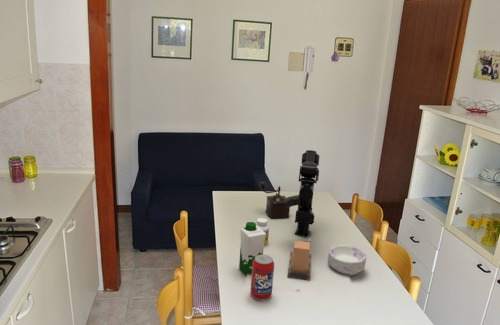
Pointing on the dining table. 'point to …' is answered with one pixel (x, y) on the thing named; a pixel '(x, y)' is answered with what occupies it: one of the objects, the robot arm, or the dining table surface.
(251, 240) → the milk carton
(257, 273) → the soda can
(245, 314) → the dining table surface
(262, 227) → the supplement bottle
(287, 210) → the brown manual coffee grinder
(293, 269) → the block
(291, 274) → the brown wooden tray
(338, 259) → the paper bowls
